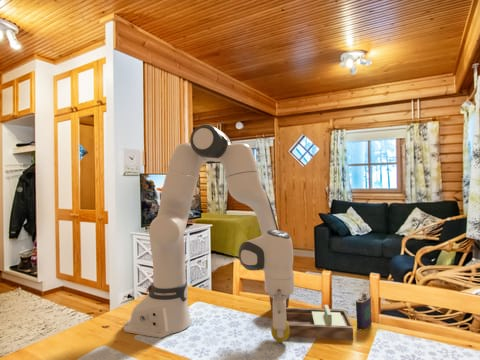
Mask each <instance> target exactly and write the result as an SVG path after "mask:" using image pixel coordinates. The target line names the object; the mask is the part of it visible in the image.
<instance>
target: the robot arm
mask: <svg viewBox="0 0 480 360" xmlns="http://www.w3.org/2000/svg"><path fill="white" fill-rule="evenodd" d="M168 163H169V164H168V166H167V170H166V175H165V177H164V181H163V186H162V187H161V193H160V194H161V195H160V201H159V206H158V213H157V216H156V217H155V218H154V219H153V220H152V221H151V222H150V225H149V230H148V234H149V244H150V252H151V257H152V279H153V280H152V282H151V284H150V285H148V287H147V288H146V291H145V292H146V293H148V295H146V296H145V297H144V298H143V299H142V300H141V301H139V302H138V303H137V304H136V305H135V306H134V307H133V309H132V312H131V314H130V315H131V316H130V318H128V320H127V321H126V322H125V323H124V326H123V332H125V333H131V334H136V335H141V336H142V335H143V336H148V337H154V338H159V339H161V338H164V337H166V336H168V335H171V334H175V333H178V332H181V331H183V330H185V329H187V328H188V327H190V325H191V324H192V319H191V315H190V312H189V305H188V295H189V294H188V293H189V291H188V290H189V289H188V281H187V280H186V278H187V277H186V275H187V273H186V271H187V270H186V268H187V267H186V254H185V239H184V238H185V236H184V235H185V231H186V228H187V223H188V221H189V216H190V212H191V207H192V204H193V199H194V197H195V196H194V195H195V191H196V188H197V184H198V181H199V177H200V173H201V169H202V167H203V165H204V164H207V165H209V164H222V165H223V169H224V174H225V180H226V181H225V182H226V187H227V189H228V192H229V195H230V196H231V197H232V198H233V199H234V200H236V201H237V202H239V203H241V204H244V205H246V206H248V207H249V208H251V209H252V210H253V211H254V212H253V213H255V216H256V219H257V223H258V226H259V229H260V232H261V235H260V236H258V237H255V238H251V239H249V240H245V241H244V242H242V243H241V244H240V246H239V248H238V259H239V263H240V264H241V266H242V267H243V268H244V269H246V270H248V271H263V272H264V291H265V292H266V293H267V294H268V296H270V297H271V298H273V312H272V322H273V328H274V329H275V330H277V337H279V338H283V330H286V299H287V298H289V299H290V297H291V294H293V293H294V292H295V273H294V269H293V264H294V247H293V245H294V244H293V240H292V237H291V235H290V234H289V233H288V232H286V231H284V230H279V227H278V222H277V219H276V217H275V213H274V209H273V207H272V202H271V200H270V197H269V196H268V194H267V192H266V191H265V189H264V187H263V184H262V181H261V178H260V174H259V169H258V168H259V167H258V163H257V161H256V158H255V155H254V152H253V150H252V147H251V146H250V145H249V144H247V143H244V142H235V143H233V142H232V139H230V137H228V136H227V134H226V133H224V131H222V130H220V129H218V128H217V127H216V126H214V125H210V124H201V125H199V126H197V127H195V129H194V130H193V131H192V132H191V135H190V139H189V142H182V143H180V144H177V146H176V147H175V149H174V151H173V153H172V156H171V157H170V160H169V162H168ZM270 297H269V298H270Z"/></svg>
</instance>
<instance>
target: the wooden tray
mask: <svg viewBox="0 0 480 360" xmlns="http://www.w3.org/2000/svg"><path fill="white" fill-rule="evenodd" d="M329 309H330V312H340V313H341V316H342V318H343V320H344V322H345V325H346V326H336V325H314V321H313V316H312V311H314V312H324V308H314V307H313V308H311V307H310V308H309V307H308V308H307V307H288V308H287V307H286V320H287V322H288V324H289V329H290V332H289V337H288V338H308V339H326V340H345V341H347V340H349V341H351V340H352V341H353V340H354V327H353V325H352V323H351V321H350V319H349V317H348V314H347V312H346V310H345V309H336V308H335V309H334V308H329Z"/></svg>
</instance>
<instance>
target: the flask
mask: <svg viewBox="0 0 480 360" xmlns="http://www.w3.org/2000/svg"><path fill="white" fill-rule="evenodd" d="M361 294H362V295H361V297H359V298H357V299H356V300H355V305H356V306H355V312H356V313H355V314H356V316H355V317H356V329H357V328H358V329H357V330H359V329H361V330H360V331H365V330H367V328H369V327H370V325H371V324H372V302H371V301H372V299H371V298H372V296H371V295H370V294H368V293H364V292H361ZM364 329H365V330H364Z"/></svg>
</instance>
